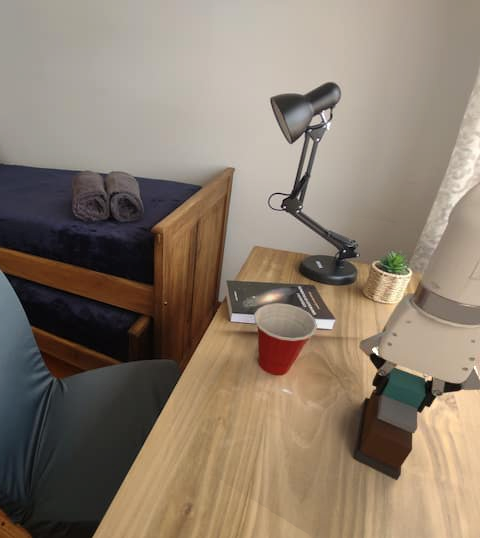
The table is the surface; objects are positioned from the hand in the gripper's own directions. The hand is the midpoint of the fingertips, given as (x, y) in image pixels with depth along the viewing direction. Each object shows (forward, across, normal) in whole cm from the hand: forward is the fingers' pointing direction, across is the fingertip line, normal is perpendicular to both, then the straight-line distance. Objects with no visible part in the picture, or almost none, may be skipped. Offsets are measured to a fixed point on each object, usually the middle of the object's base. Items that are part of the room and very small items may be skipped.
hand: (397, 396), depth 55 cm
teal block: (0, 0, +2) cm, 2 cm away
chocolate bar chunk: (+8, 0, +2) cm, 8 cm away
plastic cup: (+9, +19, -5) cm, 21 cm away
